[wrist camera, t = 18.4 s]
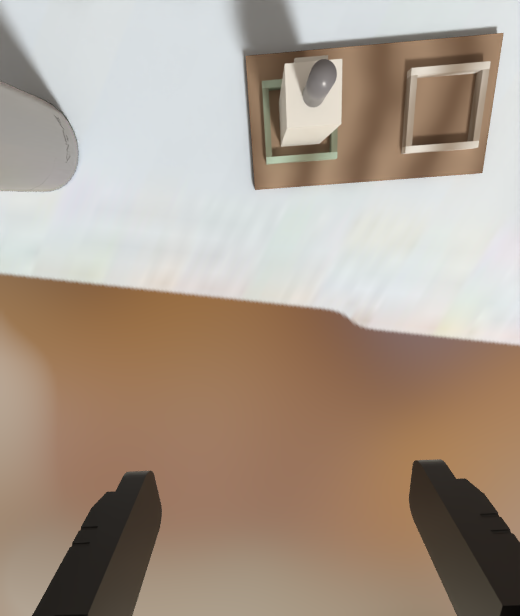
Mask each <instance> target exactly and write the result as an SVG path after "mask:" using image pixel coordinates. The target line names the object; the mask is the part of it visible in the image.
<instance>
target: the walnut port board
mask: <svg viewBox="0 0 520 616" xmlns="http://www.w3.org/2000/svg"><path fill="white" fill-rule="evenodd" d="M502 40H503V33H497V34H486V35H475V36H464V37H452V38H441V39H430V40H419V41H408V42H396V43H385V44H374V45H363V46H351V47H340V48H329V49H318V50H307V51H295V52H284V53H273V54H262V55H250V56H246V69H247V83H248V98H249V112H250V126H251V141H252V155H253V169H254V184H255V190H260V189H273V188H287V187H300V186H314V185H327V184H341V183H354V182H368V181H382V180H395V179H409V178H422V177H436V176H449V175H463V174H476V173H482V171H483V165H484V158H485V152H486V145H487V138H488V132H489V125H490V119H491V112H492V105H493V99H494V92H495V86H496V79H497V73H498V66H499V59H500V53H501V46H502ZM324 55H328V60H333V59H342V115H341V125H340V126H339V127H337V128H336V129H335V130H334V131H333V132H332V133H331V134H330V135H329V136H328V137H326V138H325V139H324V140H323V141H322V142H321V143H320V144H312V145H299V146H286V147H281V144H280V120H279V97H280V91H281V84H282V78H283V71H284V65H285V64H286V63H294V59H295V58H301V57H312V56H324Z"/></svg>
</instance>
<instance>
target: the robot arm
mask: <svg viewBox="0 0 520 616" xmlns="http://www.w3.org/2000/svg"><path fill="white" fill-rule="evenodd" d="M77 164H78V145H77V141H76V138H75V134H74V132H73V130H72V128H71V126H70V124H69V122H68V121H67V120H66V118H65V117H64V116H63V114H62V113H61V112H60V111H59V110H57V109H56V108H55V107H54V106H53V105H51V104H50V103H48V102H47V101H45V100H43V99H41V98H38V97H36V96H33V95H31V94H29V93H26V92H24V91H22V90H19V89H17V88H15V87H13V86H11V85H8V84H6V83H4V82H1V81H0V191H17V192H46V191H53V190H56V189H59V188H61V187H62V186H64V185H66V184H67V183H68V181H69V180H70V179H71V178H72V176H73V175H74V173H75V171H76V167H77ZM409 503H410V510H411V514H412V516H413V520H414V522H415V524H416V526H417V528H418V531H419V533H420V535H421V537H422V540H423V542H424V544H425V546H426V548H427V550H428V552H429V555H430V557H431V559H432V561H433V564H434V566H435V568H436V570H437V572H438V575H439V577H440V579H441V581H442V583H443V586H444V588H445V590H446V592H447V594H448V597H449V599H450V601H451V603H452V605H453V607H454V610H455V612H456V614H457V616H520V542H519V541H518V540H517V538H516V537H515V535H514V534H512V533H511V532H510V529H509V527H508V526H507V524H506V523H505V522H504V520H503V519H502V518H501V517H499V515H498V512H497V511H496V510H495V508H494V507H493V505H492V504H491V503H490V501H489V500H488V499H487V497H486V496H485V494H484V493H482V492H481V491H480V490H479V489H477V488H476V487H475V486H474V485H473V484H471V483H470V482H469V481H468V480H466V479H456V478H455V477H454V475H453V473H452V472H451V471H450V469H449V468H448V466H447V465H446V463H445V462H444V461H442V460H419V461H414V463H413V468H412V476H411V485H410V494H409ZM161 516H162V509H161V502H160V498H159V494H158V490H157V485H156V481H155V477H154V473H153V472H152V471H139V472H138V471H136V472H127V473H125V475H124V476H123V478H122V480H121V482H120V484H119V486H118V488H117V490H116V492H106V494H105V495H104V496H103V497H102V498H101V499H100V500H99V501H98V502H97V503H96V504H95V505H94V506H93V507H92V508H91V510H90V512H89V514H88V516H87V517H86V519H85V521H84V523H83V525H82V526H81V530H80V531H79V532H78V534H77V535H76V537H75V539H74V541H73V543H72V547H70V548H69V550H68V552H67V554H66V556H65V557H64V559H63V561H62V563H61V564H60V566H59V568H58V570H57V572H56V574H55V576H54V577H53V579H52V581H51V583H50V585H49V586H48V588H47V590H46V592H45V594H44V595H43V597H42V599H41V601H40V603H39V605H38V606H37V608H36V610H35V612H34V613H33V615H32V616H132V614H133V611H134V608H135V605H136V602H137V598H138V595H139V592H140V589H141V586H142V582H143V580H144V576H145V573H146V570H147V567H148V564H149V560H150V557H151V554H152V551H153V548H154V544H155V541H156V538H157V535H158V532H159V528H160V524H161Z"/></svg>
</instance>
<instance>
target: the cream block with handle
mask: <svg viewBox="0 0 520 616" xmlns="http://www.w3.org/2000/svg"><path fill="white" fill-rule="evenodd" d="M341 115H342V59H333V60H328V55H324V56H312V57H301V58H295V59H294V63H286V64H285V65H284V71H283V78H282V84H281V91H280V97H279V120H280V144H281V147H286V146H299V145H312V144H320V143H321V142H322V141H323V140H324V139H325V138H326V137H328V136H329V135H330V134H331V133H332V132H333V131H334V130H335V129H336V128H337V127H339V126H340V125H341Z"/></svg>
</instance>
